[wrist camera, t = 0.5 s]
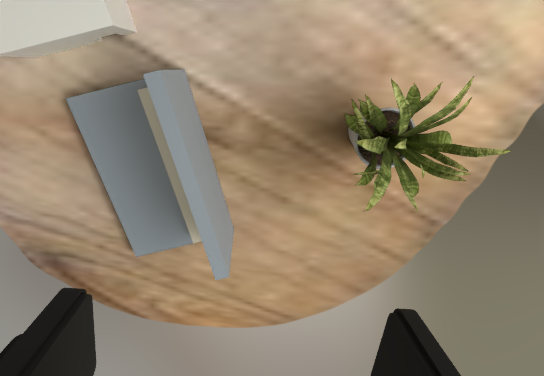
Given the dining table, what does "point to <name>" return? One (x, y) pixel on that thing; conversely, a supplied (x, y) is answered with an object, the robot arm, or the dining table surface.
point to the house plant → (406, 141)
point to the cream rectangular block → (59, 25)
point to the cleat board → (157, 165)
